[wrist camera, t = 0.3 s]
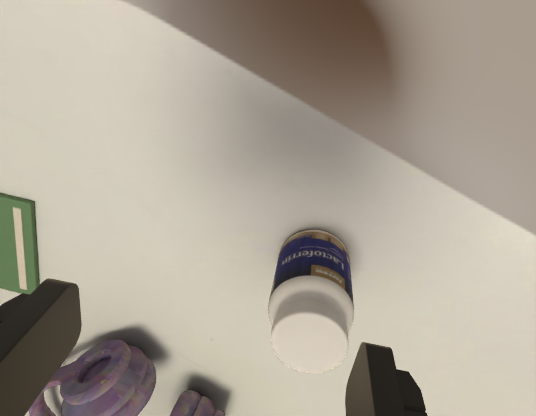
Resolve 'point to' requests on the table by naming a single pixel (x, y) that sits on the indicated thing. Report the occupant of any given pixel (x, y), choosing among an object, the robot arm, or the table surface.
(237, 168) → the table surface
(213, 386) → the table surface
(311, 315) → the pill bottle
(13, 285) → the medicine mat
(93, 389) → the headphones
